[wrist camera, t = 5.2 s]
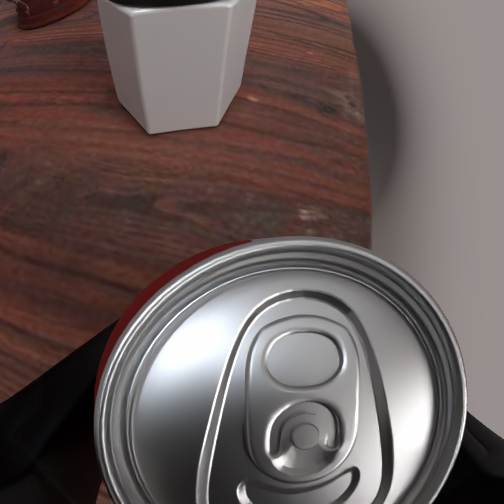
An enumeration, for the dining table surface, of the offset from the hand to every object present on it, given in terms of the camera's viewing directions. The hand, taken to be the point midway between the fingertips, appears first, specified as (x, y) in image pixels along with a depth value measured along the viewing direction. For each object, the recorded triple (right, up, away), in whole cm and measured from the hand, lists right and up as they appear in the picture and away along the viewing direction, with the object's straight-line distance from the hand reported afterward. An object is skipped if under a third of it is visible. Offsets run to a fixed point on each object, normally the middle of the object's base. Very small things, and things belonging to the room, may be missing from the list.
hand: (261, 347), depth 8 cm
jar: (-6, +14, +12) cm, 19 cm away
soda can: (-1, -4, +6) cm, 7 cm away
